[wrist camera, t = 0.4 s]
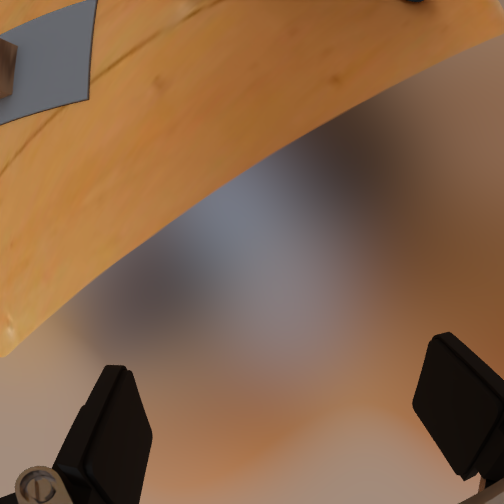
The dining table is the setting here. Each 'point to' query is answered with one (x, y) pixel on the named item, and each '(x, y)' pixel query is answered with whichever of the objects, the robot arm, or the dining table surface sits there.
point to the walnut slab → (7, 67)
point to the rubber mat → (50, 61)
